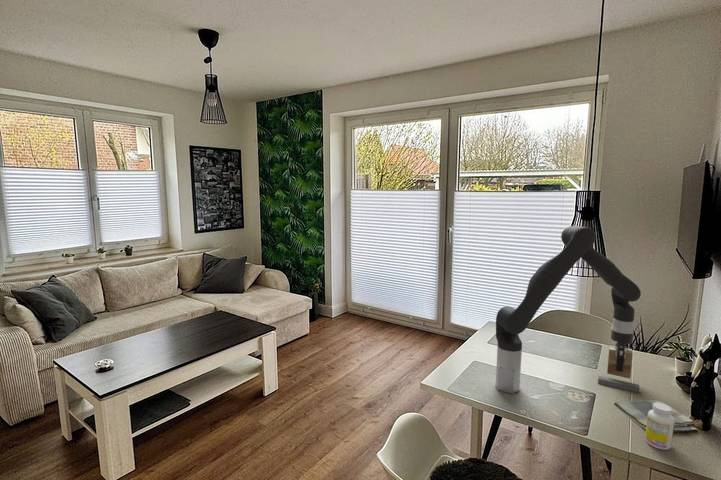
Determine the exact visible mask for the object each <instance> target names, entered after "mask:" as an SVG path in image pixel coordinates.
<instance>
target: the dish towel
mask: <svg viewBox="0 0 721 480" xmlns="http://www.w3.org/2000/svg"><path fill="white" fill-rule="evenodd" d="M653 403H663V404H665V403H664V402H662V401H661V400H656V399H655V400H653V399H652V400H651V399H650V400H648V399H647V400H628V401H627V400H626V401H623V400H622V401H615V402H614V403H613V406H615V407H616V408H617V409H619V410H620V411H621V412H622V413H623V414H624V415H626V416H627V417H628V418H629V419H630V420H632V421H633V422H634V423H635V424H636V425H638V426H639V427H640V428H641V429H642V430H644V431H645V432H646V426H647V417H648V412H649V411H650V410H652V409H653ZM671 409H672V413H671V414H670V415H672V416H673V418H674V420H675V422H674V429H673V434H689V433H691V434H693V433H696V434H699V433H700V430H699V429H698V428H696V427H694V426H693V425H694V424H695V423H696V422H695V421H694V420H693V419H691V418H689V417H687V416H686V415H684V414H683V413H681V412H679V411H677V410H675V409H674V408H673V407H671Z"/></svg>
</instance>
